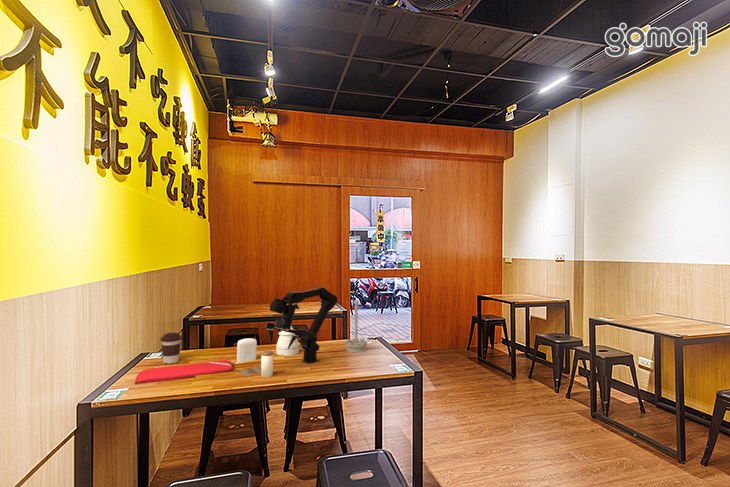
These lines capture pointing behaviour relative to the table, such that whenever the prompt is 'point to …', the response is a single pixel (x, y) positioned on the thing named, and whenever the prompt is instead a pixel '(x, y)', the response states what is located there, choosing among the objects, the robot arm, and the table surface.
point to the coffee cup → (171, 347)
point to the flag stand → (355, 344)
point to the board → (250, 371)
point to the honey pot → (286, 344)
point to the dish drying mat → (183, 371)
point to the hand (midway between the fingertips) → (279, 346)
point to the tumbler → (266, 363)
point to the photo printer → (246, 350)
